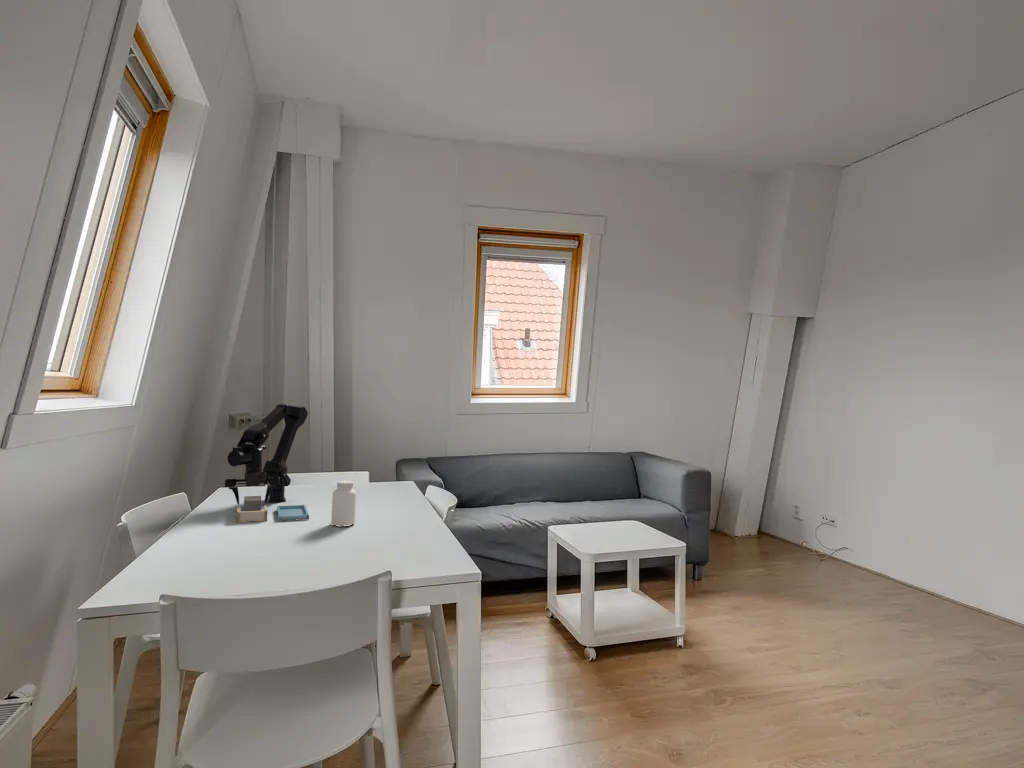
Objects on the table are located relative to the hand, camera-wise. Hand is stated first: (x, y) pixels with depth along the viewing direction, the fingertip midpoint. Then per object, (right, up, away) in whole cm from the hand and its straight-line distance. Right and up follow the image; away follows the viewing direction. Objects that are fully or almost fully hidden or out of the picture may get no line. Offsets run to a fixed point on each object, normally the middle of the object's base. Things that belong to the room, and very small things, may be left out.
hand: (252, 504), depth 222 cm
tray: (+17, -3, -6) cm, 19 cm away
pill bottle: (+38, -4, -15) cm, 41 cm away
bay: (+6, -2, -14) cm, 15 cm away
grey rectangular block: (+2, -2, -5) cm, 6 cm away
